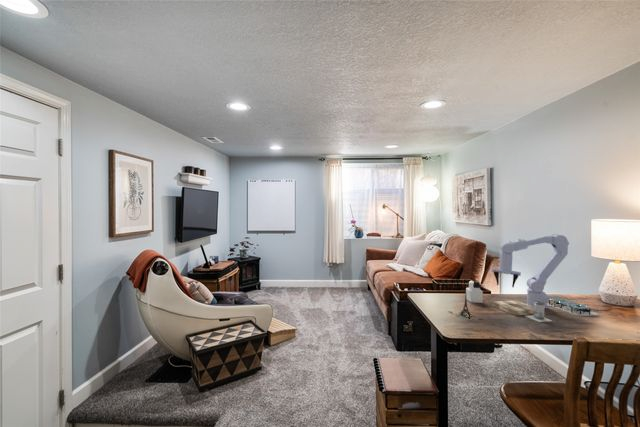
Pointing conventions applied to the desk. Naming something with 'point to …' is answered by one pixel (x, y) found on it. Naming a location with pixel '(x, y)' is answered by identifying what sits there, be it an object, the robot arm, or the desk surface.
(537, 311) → the end cover
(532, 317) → the mat
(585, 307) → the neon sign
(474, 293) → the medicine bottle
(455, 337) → the desk surface
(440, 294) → the desk surface
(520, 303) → the bore block
